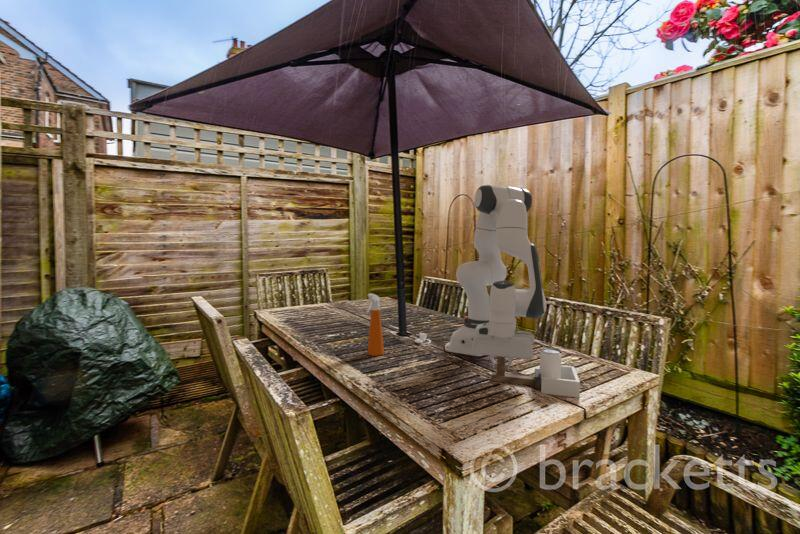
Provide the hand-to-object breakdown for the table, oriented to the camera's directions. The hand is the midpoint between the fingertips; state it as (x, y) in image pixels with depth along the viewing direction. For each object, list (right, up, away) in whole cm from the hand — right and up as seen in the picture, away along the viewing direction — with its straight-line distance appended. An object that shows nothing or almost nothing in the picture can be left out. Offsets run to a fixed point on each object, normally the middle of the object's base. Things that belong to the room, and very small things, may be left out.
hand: (501, 368), depth 127 cm
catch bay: (+17, -5, -5) cm, 19 cm away
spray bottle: (-46, -2, +28) cm, 54 cm away
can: (+15, -5, -5) cm, 16 cm away
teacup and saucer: (-27, -1, +48) cm, 55 cm away
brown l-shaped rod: (+4, -4, -1) cm, 6 cm away
